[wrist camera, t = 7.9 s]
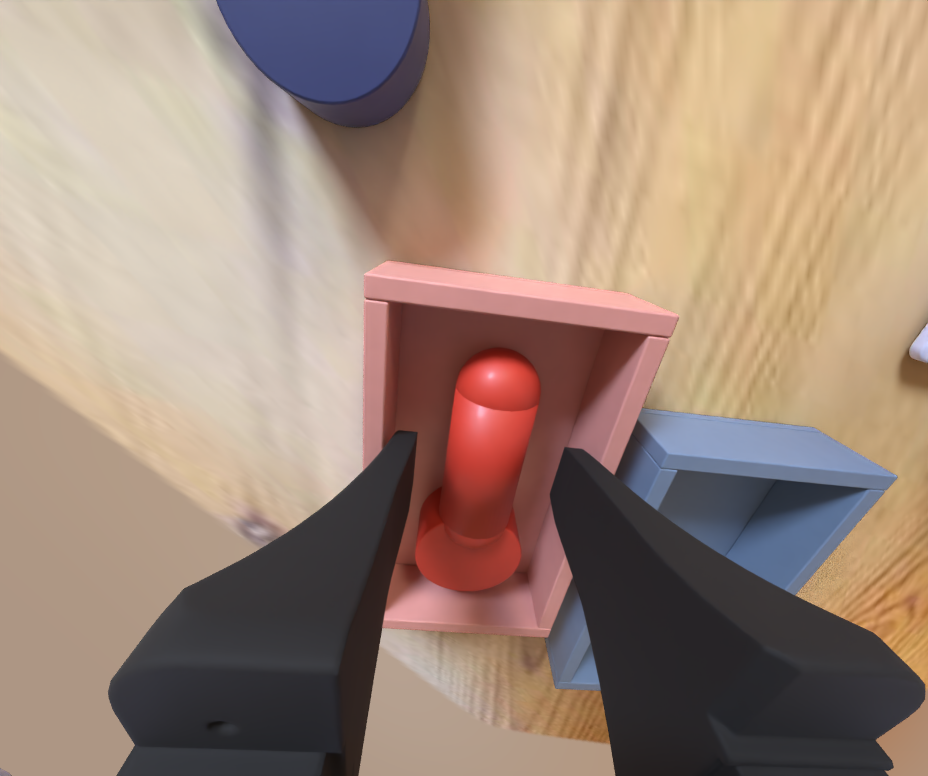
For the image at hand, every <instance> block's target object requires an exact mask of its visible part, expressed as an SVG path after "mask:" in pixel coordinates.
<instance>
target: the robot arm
mask: <svg viewBox="0 0 928 776" xmlns="http://www.w3.org/2000/svg"><path fill="white" fill-rule="evenodd" d="M909 355H910V356H911V358H913V359H915V360H919V361H922V362H925V363H928V323H927V324H926V326H925V327H924V328H923V330H922V331H921V333H920V334H919V335H918V337H917V338H916V339H915V341H914V342H913V343H912V345H911V347H910V350H909ZM417 434H418V432H413V431H403V430H398V431H397V432H395V433H394V435H393V436H392V438H391V439H390V440H389V442H388V443H387V444H386V446H385V447H384V448H383V449H382V450H381V452H380V453H379V454H378V455H377V456H376V457H375V458H374V460H373V461H372V462H371V463H370V464H369V465H368V466H367V467H366V468H365V469H364V470H363V471H362V472H361V473H360V474H359V475H358V476H357V477H356V478H355V479H354V480H353V481H352V482H351V483H350V484H349V485H348V486H347V487H346V488H345V489H344V490H342V491H341V492H340V493H339V494H338V495H337V496H336V497H334V498H333V499H332V500H331V501H330V502H328V503H327V504H326V505H325V506H323V507H322V508H321V509H320V510H318V511H317V512H315V513H314V514H313V515H311V516H310V517H309V518H307V519H306V520H304V521H303V522H302V523H300V524H299V525H297V526H296V527H295V528H293V529H292V530H290V531H289V532H287V533H286V534H284V535H282V536H281V537H279V538H277V539H276V540H274V541H273V542H271V543H269V544H268V545H266V546H264V547H263V548H261V549H259V550H258V551H256V552H254V553H253V554H251V555H249V556H247V557H245V558H244V559H242V560H240V561H238V562H236V563H234V564H232V565H230V566H228V567H226V568H224V569H223V570H220V571H219V572H216V573H215V574H212V575H211V576H209V577H207V578H205V579H203V580H201V581H199V582H197V583H195V584H192V585H191V586H188V587H186V588H184V589H183V590H182V591H181V592H180V594H179V595H178V596H177V597H176V599H175V600H174V601H173V602H172V603H171V604H170V605H169V606H168V607H167V608H166V609H165V611H164V612H163V613H162V614H161V615H160V617H159V618H158V619H157V620H156V622H155V623H154V624H153V625H152V627H151V628H150V629H149V631H148V632H147V633H146V635H145V636H144V637H143V639H142V640H141V641H140V643H139V644H138V645H137V647H136V648H135V649H134V651H133V652H132V653H131V655H130V656H129V657H128V659H127V660H126V661H125V662H124V664H123V665H122V666H121V668H120V669H119V670H118V672H117V673H116V674H115V676H114V677H113V678H112V680H111V683H110V686H109V690H108V695H109V700H110V703H111V706H112V709H113V711H114V712H115V714H116V716H117V717H118V719H119V720H120V722H121V724H122V725H123V727H124V728H125V730H126V731H127V733H128V734H129V736H130V738H131V739H132V741H133V742H134V744H135V746H134V748H133V750H132V751H131V753H130V755H129V756H128V758H127V759H126V761H125V763H124V764H123V766H122V767H121V769H120V771H119V772H118V774H117V776H358V774H359V768H360V761H361V755H362V749H363V743H364V736H365V730H366V723H367V717H368V711H369V705H370V699H371V692H372V686H373V680H374V673H375V668H376V662H377V656H378V650H379V644H380V638H381V632H382V626H383V620H384V614H385V608H386V603H387V597H388V592H389V587H390V582H391V578H392V574H393V570H394V566H395V563H396V559H397V555H398V551H399V547H400V544H401V540H402V536H403V532H404V528H405V524H406V520H407V517H408V513H409V507H410V501H411V494H412V487H413V479H414V468H415V457H416V446H417ZM549 495H550V500H551V506H552V511H553V516H554V521H555V525H556V528H557V531H558V534H559V537H560V540H561V543H562V546H563V549H564V552H565V555H566V558H567V561H568V564H569V567H570V570H571V573H572V576H573V579H574V582H575V584H576V587H577V590H578V594H579V597H580V600H581V604H582V607H583V611H584V616H585V620H586V624H587V628H588V633H589V637H590V641H591V646H592V650H593V655H594V660H595V665H596V669H597V674H598V679H599V684H600V689H601V694H602V700H603V705H604V710H605V716H606V721H607V726H608V732H609V738H610V744H611V750H612V757H613V762H614V769H615V775H616V776H888V775H887V773H886V772H885V771H884V770H886V771H889V770H891V769H892V768H893V763H892V760H891V759H890V758H889V757H888V756H887V754H886V753H885V752H884V750H883V749H882V748H881V747H880V745H879V744H878V743H877V742H876V739H877V738H879V737H880V736H882V735H883V734H885V733H886V732H887V731H889V730H890V729H892V728H893V727H895V726H896V725H897V724H899V723H900V722H902V721H903V720H905V719H906V718H908V717H909V716H910V715H911V714H912V713H914V712H915V711H916V710H917V709H918V708H919V707H920V706H921V704H922V703H923V701H924V700H925V684H924V683H923V681H922V680H921V679H920V677H919V676H918V675H917V674H916V673H915V672H914V671H913V670H912V669H911V668H910V667H909V666H908V665H907V664H906V663H905V662H904V661H903V660H902V659H900V658H899V657H898V656H897V655H896V654H895V653H894V652H893V651H892V650H891V649H890V648H889V647H888V646H887V645H886V644H885V643H884V642H883V641H882V640H881V639H880V638H879V637H878V636H877V635H875V634H874V633H873V632H871V631H868V630H866V629H864V628H862V627H860V626H858V625H856V624H854V623H851V622H849V621H847V620H845V619H843V618H841V617H839V616H836V615H834V614H832V613H830V612H828V611H826V610H824V609H822V608H819V607H817V606H815V605H813V604H811V603H809V602H807V601H805V600H803V599H801V598H799V597H797V596H795V595H793V594H791V593H789V592H787V591H786V590H784V589H782V588H780V587H778V586H776V585H774V584H772V583H770V582H768V581H767V580H765V579H763V578H761V577H759V576H758V575H756V574H754V573H752V572H750V571H749V570H747V569H745V568H743V567H742V566H740V565H738V564H737V563H735V562H733V561H732V560H730V559H728V558H727V557H725V556H723V555H722V554H720V553H718V552H717V551H715V550H713V549H712V548H710V547H709V546H707V545H705V544H704V543H702V542H701V541H699V540H698V539H696V538H695V537H693V536H692V535H691V534H689V533H688V532H686V531H685V530H683V529H682V528H680V527H679V526H677V525H676V524H675V523H673V522H672V521H670V520H669V519H668V518H666V517H665V516H664V515H662V514H661V513H660V512H658V511H657V510H656V509H655V508H653V507H652V506H651V505H649V504H648V503H647V502H646V501H644V500H643V499H642V498H641V497H639V496H638V495H637V494H636V493H634V492H633V491H632V490H631V489H630V488H629V487H627V486H626V485H625V484H624V483H623V482H621V481H620V480H619V479H618V478H617V477H616V476H614V475H613V474H612V473H611V472H610V471H609V470H608V469H606V468H605V467H604V466H603V465H602V464H601V463H600V462H598V461H597V460H596V459H595V458H594V457H592V456H591V455H590V454H589V453H587V452H586V451H585V450H583V449H580V448H570V447H564V450H563V453H562V456H561V460H560V463H559V466H558V469H557V472H556V475H555V479H554V482H553V485H552V488H551V491H550V494H549ZM0 776H11V775H10V774H9V773H8V772H6V771H5V770H3V769H1V768H0Z"/></svg>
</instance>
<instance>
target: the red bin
mask: <svg viewBox="0 0 928 776" xmlns="http://www.w3.org/2000/svg"><path fill="white" fill-rule="evenodd" d="M364 297H365V298H366V299H365V300H364V368H363V470H364V469H365V468H366V467H367V466H368V465H369V464H370V463H371V462H372V461H373V460H374V458H375V457H376V456H377V455H378V454H379V453H380V452H381V450H382V449H383V448H384V447H385V446H386V444H387V443H388V442H389V440H390V439H391V438H392V436H393V435H394V433H395V432H397V431H398V430H403V431H413V432H418V434H417V446H416V457H415V468H414V479H413V487H412V494H411V501H410V507H409V513H408V517H407V520H406V524H405V528H404V532H403V536H402V540H401V544H400V547H399V551H398V555H397V559H396V563H395V566H394V570H393V574H392V578H391V582H390V587H389V592H388V597H387V603H386V608H385V614H384V620H383V626H382V628H392V629H409V630H426V631H443V632H460V633H477V634H494V635H511V636H528V637H545V638H547V637H548V636H549V634H550V631H551V628H552V626H553V624H554V621H555V619H556V616H557V614H558V611H559V609H560V607H561V604H562V602H563V599H564V597H565V594H566V592H567V589H568V587H569V585H570V582H571V580H572V577H573V576H572V573H571V570H570V567H569V564H568V561H567V558H566V555H565V552H564V549H563V546H562V543H561V540H560V537H559V534H558V531H557V528H556V525H555V521H554V516H553V511H552V506H551V500H550V495H549V494H550V491H551V488H552V485H553V482H554V479H555V475H556V472H557V469H558V466H559V463H560V460H561V456H562V453H563V450H564V447H570V448H580V449H583V450H585V451H586V452H587V453H589V454H590V455H591V456H592V457H594V458H595V459H596V460H597V461H598V462H600V463H601V464H602V465H603V466H604V467H605V468H606V469H608V470H609V471H610V472H611V473H612V474H613V475H615V473H616V470H617V468H618V465H619V463H620V460H621V458H622V456H623V453H624V451H625V448H626V446H627V443H628V441H629V438H630V436H631V434H632V431H633V429H634V426H635V424H636V421H637V419H638V417H639V414H640V412H641V409H642V407H643V404H644V402H645V400H646V397H647V395H648V392H649V390H650V387H651V385H652V382H653V380H654V378H655V375H656V373H657V370H658V368H659V365H660V363H661V361H662V358H663V356H664V353H665V351H666V348H667V346H668V344H669V340H670V339H669V338H668V337H671V336H672V334H673V331H674V329H675V326H676V324H677V322H678V319H679V315H677V314H675V313H673V312H670V311H668V310H665V309H663V308H661V307H658V306H656V305H654V304H651V303H649V302H647V301H644V300H642V299H639V298H637V297H635V296H633V295H631V294H628V293H622V292H615V291H608V290H600V289H593V288H586V287H579V286H571V285H564V284H557V283H550V282H542V281H535V280H528V279H521V278H513V277H506V276H499V275H492V274H484V273H477V272H470V271H463V270H455V269H448V268H441V267H434V266H426V265H419V264H412V263H405V262H397V261H390V260H387V261H385V262H384V263H382V264H381V265H379V266H377V267H375V268H374V269H372V270H370V271H368V272H367V273H365V275H364ZM494 347H501V348H508V349H512V350H514V351H517V352H519V353H520V354H522V355H523V356H525V357H526V358H527V359H528V360H529V361H530V362H531V363H532V365H533V366H534V368H535V369H536V371H537V373H538V376H539V380H540V384H541V394H540V401H539V405H538V409H537V413H536V416H535V420H534V424H533V428H532V432H531V436H530V440H529V444H528V447H527V451H526V455H525V459H524V463H523V467H522V471H521V474H520V478H519V482H518V486H517V490H516V494H515V498H514V501H513V505H512V506H513V509H514V514H515V519H516V524H517V529H518V534H519V539H520V545H521V550H522V556H521V560H520V563H519V566H518V567H517V569H516V571H515V572H514V573H513V574H512V575H511V576H510V577H509V578H508V579H506V580H505V581H503V582H502V583H500V584H498V585H496V586H493V587H490V588H487V589H483V590H478V591H456V590H450V589H447V588H443V587H441V586H438V585H436V584H434V583H433V582H431V581H430V580H428V579H427V578H426V577H425V576H424V575H423V574H422V573H421V572H420V570H419V568H418V566H417V564H416V560H415V548H416V540H417V533H418V525H419V517H420V511H421V507H422V505H423V503H424V501H425V500H426V499H427V497H428V496H429V495H430V494H431V493H432V492H434V491H435V490H436V489H438V488H440V487H442V483H443V475H444V468H445V461H446V453H447V446H448V439H449V431H450V424H451V416H452V409H453V402H454V394H455V387H456V382H457V378H458V374H459V372H460V370H461V368H462V367H463V365H464V364H465V363H466V362H467V360H468V359H469V358H471V357H472V356H473V355H474V354H476V353H478V352H480V351H482V350H485V349H489V348H494Z"/></svg>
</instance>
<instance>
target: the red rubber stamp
mask: <svg viewBox="0 0 928 776" xmlns="http://www.w3.org/2000/svg"><path fill="white" fill-rule="evenodd" d="M540 394H541V384H540V380H539V376H538V373H537V371H536V369H535V368H534V366H533V365H532V363H531V362H530V361H529V360H528V359H527V358H526V357H525V356H523V355H522V354H520V353H519V352H517V351H514V350H512V349H508V348H501V347H494V348H489V349H485V350H482V351H480V352H478V353H476V354H474V355H473V356H472V357H471V358H469V359H468V360H467V362H466V363H465V364H464V365H463V367H462V368H461V370H460V372H459V374H458V378H457V382H456V387H455V394H454V402H453V409H452V416H451V424H450V431H449V439H448V446H447V453H446V461H445V468H444V475H443V483H442V487H440V488H438V489H436V490H435V491H434V492H432V493H431V494H430V495H429V496H428V497H427V499H426V500H425V501H424V503H423V505H422V507H421V511H420V517H419V525H418V533H417V540H416V548H415V560H416V564H417V566H418V568H419V570H420V572H421V573H422V574H423V575H424V576H425V577H426V578H427V579H428V580H430V581H431V582H433V583H434V584H436V585H438V586H441V587H443V588H447V589H450V590H456V591H478V590H483V589H487V588H490V587H493V586H496V585H498V584H500V583H502V582H503V581H505V580H506V579H508V578H509V577H510V576H511V575H512V574H513V573H514V572H515V571H516V569H517V567H518V566H519V563H520V560H521V556H522V550H521V545H520V539H519V534H518V529H517V524H516V519H515V514H514V509H513V506H512V505H513V501H514V498H515V494H516V490H517V486H518V482H519V478H520V474H521V471H522V467H523V463H524V459H525V455H526V451H527V447H528V444H529V440H530V436H531V432H532V428H533V424H534V420H535V416H536V413H537V409H538V405H539V401H540Z"/></svg>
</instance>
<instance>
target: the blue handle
mask: <svg viewBox="0 0 928 776" xmlns="http://www.w3.org/2000/svg"><path fill="white" fill-rule="evenodd" d="M216 1H217V4H218V6H219V9H220V11H221V13H222V15H223V17H224V19H225V22H226V24H227V26H228V27H229V29H230V31H231V33H232V34H233V36H234V38H235V39H236V41H237V43H238V44H239V45H240V47H241V48H242V50H243V51H244V52H245V54H246V55H247V57H248V58H249V59H250V60H251V61H252V62H253V63H254V65H255V66H256V67H257V68H258V69H259V70H260V71H261V72H262V73H263V74H264V75H265V76H266V77H267V78H269V79H270V80H271V81H272V82H273V83H275V84H276V85H277V86H279V87H280V88H281V89H283V90H284V91H285V92H287V93H288V94H289V95H291V96H292V97H293V98H295V99H296V100H297V101H299V102H300V103H301V104H303V105H304V106H305V107H306V108H308V109H309V110H311V111H312V112H313V113H315V114H316V115H318V116H319V117H321V118H323V119H325V120H327V121H329V122H332V123H334V124H337V125H341V126H346V127H367V126H371V125H376V124H378V123H380V122H383V121H385V120H387V119H388V118H390V117H391V116H393V115H394V114H396V113H397V112H398V111H399V110H400V109H401V108H402V107H403V106H404V105H405V104H406V103H407V101H408V100H409V99H410V97H411V96H412V94H413V93H414V91H415V90H416V87H417V85H418V83H419V81H420V79H421V76H422V73H423V71H424V68H425V64H426V59H427V55H428V48H429V39H430V20H429V8H428V0H216Z"/></svg>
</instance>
